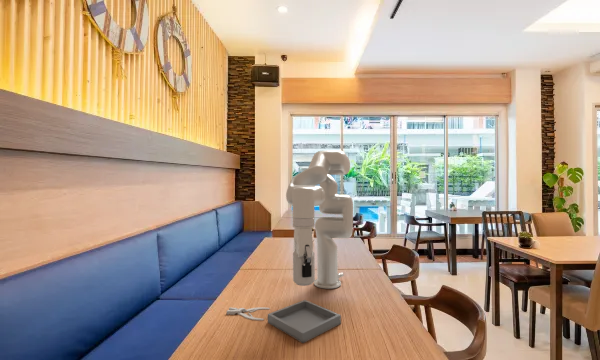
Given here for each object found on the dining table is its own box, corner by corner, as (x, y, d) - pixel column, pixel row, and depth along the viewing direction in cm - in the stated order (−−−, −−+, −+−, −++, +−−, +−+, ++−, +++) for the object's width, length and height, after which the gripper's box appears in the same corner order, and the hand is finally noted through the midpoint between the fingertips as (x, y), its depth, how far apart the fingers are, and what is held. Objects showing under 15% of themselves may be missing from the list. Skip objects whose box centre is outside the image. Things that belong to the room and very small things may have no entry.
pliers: (263, 317, 108) (222, 314, 110) (263, 321, 108) (222, 319, 110) (269, 305, 118) (232, 303, 120) (269, 309, 118) (232, 307, 120)
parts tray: (305, 307, 119) (305, 299, 118) (340, 323, 105) (340, 314, 105) (267, 322, 106) (267, 314, 106) (302, 343, 93) (302, 333, 93)
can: (303, 277, 111) (303, 244, 111) (319, 282, 106) (318, 248, 105) (288, 282, 106) (288, 248, 106) (304, 288, 100) (303, 252, 100)
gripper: (288, 219, 113) (288, 266, 113) (298, 227, 96) (298, 282, 96) (307, 218, 115) (308, 265, 115) (321, 226, 98) (321, 280, 98)
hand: (303, 272), depth 106 cm, fingers closed on can, 7 cm apart
